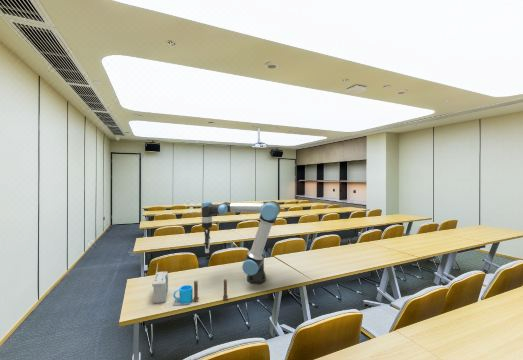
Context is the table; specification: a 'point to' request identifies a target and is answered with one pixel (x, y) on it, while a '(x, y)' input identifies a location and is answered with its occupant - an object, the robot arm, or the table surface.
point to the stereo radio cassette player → (160, 286)
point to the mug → (185, 294)
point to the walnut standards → (197, 291)
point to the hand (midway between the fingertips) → (207, 250)
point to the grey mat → (177, 302)
